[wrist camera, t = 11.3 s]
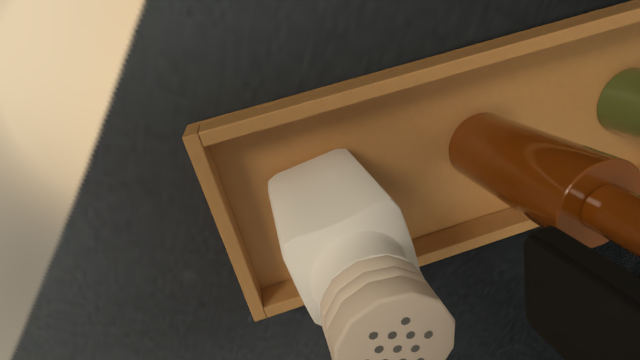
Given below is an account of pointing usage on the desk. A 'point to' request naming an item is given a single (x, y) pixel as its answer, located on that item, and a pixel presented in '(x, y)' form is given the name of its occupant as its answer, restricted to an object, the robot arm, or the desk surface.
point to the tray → (412, 139)
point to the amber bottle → (551, 179)
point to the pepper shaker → (356, 263)
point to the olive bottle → (621, 103)
